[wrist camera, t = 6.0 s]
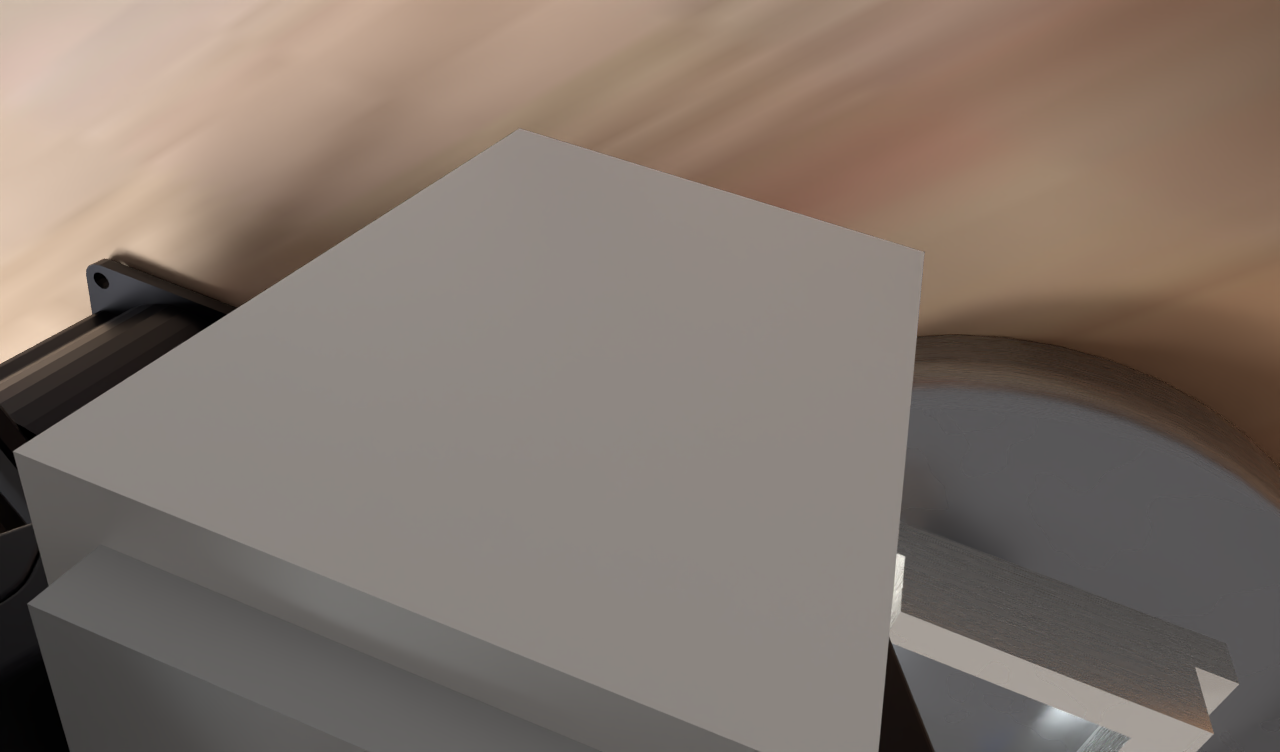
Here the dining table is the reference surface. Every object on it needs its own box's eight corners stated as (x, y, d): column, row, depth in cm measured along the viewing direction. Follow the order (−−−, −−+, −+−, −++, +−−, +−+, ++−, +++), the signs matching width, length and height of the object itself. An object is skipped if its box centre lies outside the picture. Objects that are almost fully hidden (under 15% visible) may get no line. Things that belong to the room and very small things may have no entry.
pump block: (468, 558, 12) (122, 1058, 7) (519, 127, 9) (-70, 503, 4) (751, 669, 11) (588, 1298, 6) (924, 252, 8) (866, 897, 3)
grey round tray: (599, 685, 28) (530, 845, 24) (740, 234, 19) (670, 354, 15) (1105, 898, 26) (1136, 1120, 21) (1530, 503, 17) (1736, 740, 12)
